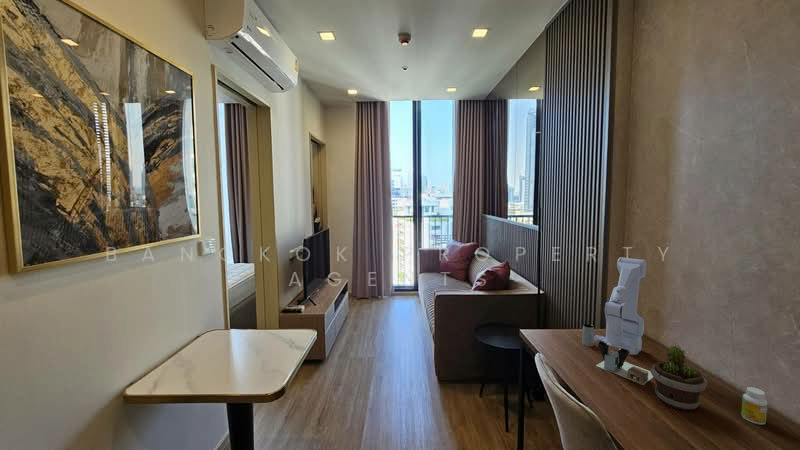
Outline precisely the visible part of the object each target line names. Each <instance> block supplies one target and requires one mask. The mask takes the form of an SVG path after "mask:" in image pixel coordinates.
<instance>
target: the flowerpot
mask: <svg viewBox="0 0 800 450" xmlns="http://www.w3.org/2000/svg"><path fill="white" fill-rule="evenodd" d="M680 347H681V346H680V345H679V344H677V343H676V342H675V343H674V344H671V345H670V346H669V348H667V352H665V356H666V357H665V361H657V362H656V363H655V364H654V365H652V366H651V369H650V371H651V373H652V376H653V378H654V380H655V384H656V385H655V387H654V390H655V391H654V393H655V394H656V396H657V397H658V398H659V401H661V402H662V403H664V404H665V405H667V406H669V407H670V408H673V409H677V410H681V411H689V410H690V411H694V410H695V409H697V408H698V407H699V405H700V404H701V403H700V402H701V398H700V396H701V394H702V392H703V391H705V390H706V389H707V385H708V381H707V379H706V378H705V377H704V375H702V372H700V371H699V370H697V369H696V367H693V365H692V364H691V365H690V364H689V365H686V364H687V363H688V361H687V360H686V359H687V358H688V356H687V353H685V350H684V349H682V348H680Z"/></svg>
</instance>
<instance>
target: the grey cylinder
mask: <svg viewBox="0 0 800 450" xmlns="http://www.w3.org/2000/svg"><path fill="white" fill-rule="evenodd" d="M594 332H595V326H594V325H593V324H590V323H583V324H582V340H581V341H582V342H581V343H582V345H583V346H585V347H593V346H594V341H595V340H594V336H595V335H594Z"/></svg>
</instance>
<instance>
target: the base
mask: <svg viewBox="0 0 800 450" xmlns="http://www.w3.org/2000/svg"><path fill="white" fill-rule="evenodd" d="M633 366H634V367H637V368H640V369H642V370H645V371H648V379H647V380H646V381H645V382H643V383H640V382H639V379H638V381H634V380H633V377H632V378H628V377H627V372H628V369H630V368H631V367H633ZM595 367H598V368H600V369H602V370H606V371H608V372H610V373H612V374H615V375H618V376H619V377H620V376H621V377H623V378H625V379H628V380H629V381H632V382H635V383H637V384H639V385H642V386H644V385H645V384H646V383H648V382H649V381H650V380H652V379H653V378H654V377H653V376H652V373H651V370H648V369H645V368H642V367H640V366H637V365H635V364H631V363H629V362H627V361H624V364H623V366H622V368H621V369H618V368H617V372H615V373H614V372H612V371H609V370H607V369H604V360H602V361H601V362H599V363H597V364H596V365H595Z"/></svg>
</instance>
